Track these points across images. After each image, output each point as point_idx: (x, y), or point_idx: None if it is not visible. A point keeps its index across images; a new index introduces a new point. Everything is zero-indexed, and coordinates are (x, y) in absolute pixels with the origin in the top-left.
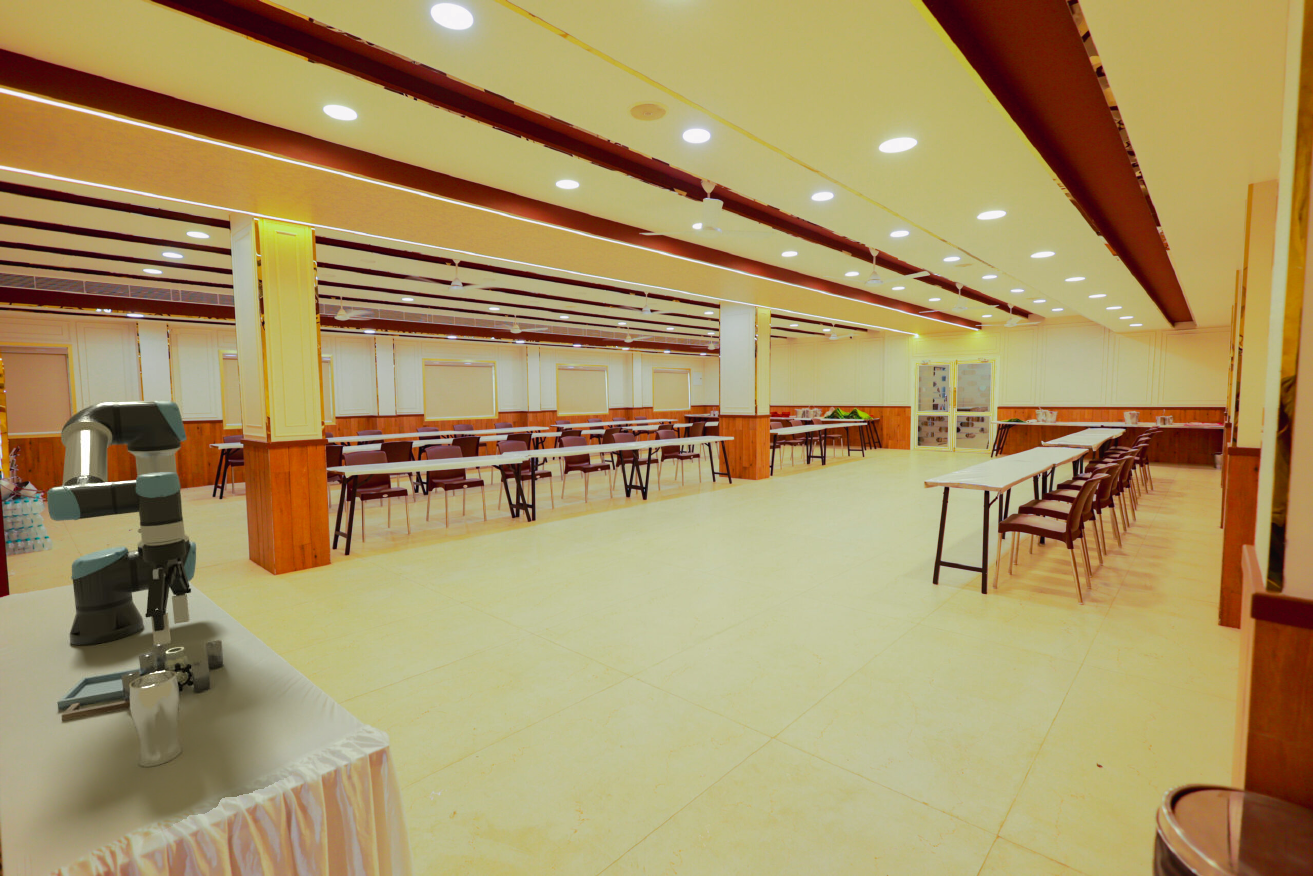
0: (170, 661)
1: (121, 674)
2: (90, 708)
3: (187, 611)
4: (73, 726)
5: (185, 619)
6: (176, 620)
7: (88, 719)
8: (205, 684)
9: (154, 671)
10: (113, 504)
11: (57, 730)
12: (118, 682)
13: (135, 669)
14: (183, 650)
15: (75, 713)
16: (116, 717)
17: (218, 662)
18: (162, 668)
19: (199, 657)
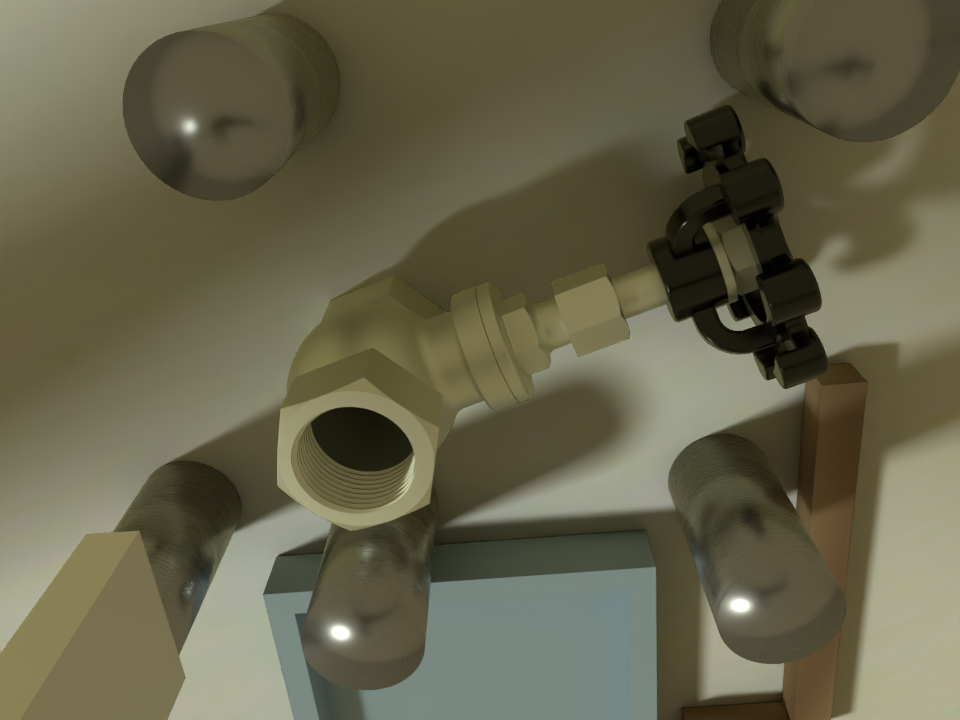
0: (442, 431)
1: (318, 690)
2: (819, 655)
3: (55, 667)
4: (935, 647)
5: (128, 592)
6: (158, 693)
7: (879, 613)
8: None
9: None
10: None
11: (939, 697)
12: None
13: (287, 642)
14: (371, 379)
15: (829, 700)
16: (953, 477)
17: (308, 42)
18: (228, 492)
19: (20, 304)
